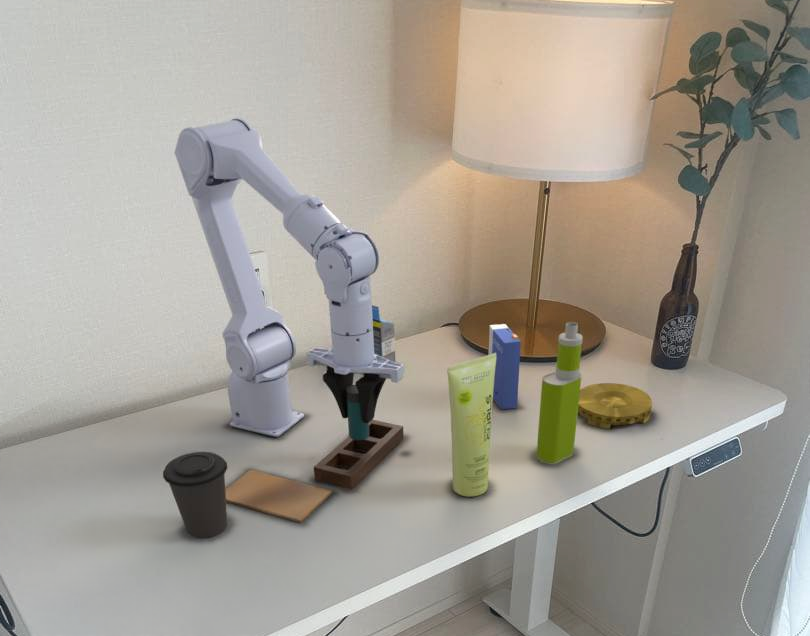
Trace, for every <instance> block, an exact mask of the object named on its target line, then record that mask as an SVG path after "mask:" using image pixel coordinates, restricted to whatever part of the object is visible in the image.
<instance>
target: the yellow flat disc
mask: <svg viewBox="0 0 810 636" xmlns="http://www.w3.org/2000/svg"><path fill="white" fill-rule="evenodd" d="M652 407H653V400H652V397H651V396H650V395H649V394H648V393H647V392H645V391H644V390H642V389H640V388H637V387H635V386H632V385H628V384H623V383H614V382H603V383H602V382H601V383H595V384H590V385H587V386H584V387H583V388H580V395H579V404H578V414H580V415H581V416H582V417H584V418H586V419H587V424H589V425H592V426H594V427H597V428H601V429H602V428H603V429H611V425H613V426H614V425H616V426H617V425H618V426H619V425H620V426H624V425H632V424H636V423H641V424H643V425H644V424H646V423H647V422H648V421H649V419H650V417H651V412H652Z"/></svg>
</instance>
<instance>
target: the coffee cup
mask: <svg viewBox="0 0 810 636" xmlns="http://www.w3.org/2000/svg"><path fill="white" fill-rule="evenodd" d="M227 470H228V462H227V461H226V460H225V459H224V458H223V457H222V456H221V455H219V454H217V453H214V452H209V451H193V452H189V453H184V454H181V455H179V456H177V457H175V458H173V459H172V460H170V461H169V462H168V463H167V464H166V466H165V467H164V469H163V472H162V478H163V479H164V481H165V482H166V483H167V484H168V485H169V487H170V490H171V493H172V495H173V498H174V501H175V503H176V506H177V508H178V511H179V513H180V516H181V519H182V522H183V525H184V527H185V529H186V532H187V534H188V535H189V536H191V537H193V538H196V539H209V538H213V537H216V536H218V535H220V534H222V533H223V532H224V531H225V530H226V529H227V527H228V516H227V515H228V513H227V501H226V493H225V490H226V478H225V477H226V476H225V474H226V472H227Z"/></svg>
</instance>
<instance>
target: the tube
mask: <svg viewBox="0 0 810 636" xmlns="http://www.w3.org/2000/svg"><path fill="white" fill-rule="evenodd" d="M495 366H496V353H493V354H491V355H484V356H482V357H478V358H475V359H471V360H468V361H464V362H461V363H458V364H455V365H451V366H448V367H447V383H448V391H449V406H450V429H451V457H452V458H451V461H452V462H451V465H452V470H451V471H452V490H453V491H454V492H455V493H456V494H458V495H459V496H463V497H478V496H480V495H482V494H484V493H486V491H487V490H488V486H489V468H490V467H489V466H490V448H491V431H492V430H491V429H492V414H493V401H494V399H493V388H494V376H495Z"/></svg>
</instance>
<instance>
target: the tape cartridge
mask: <svg viewBox="0 0 810 636" xmlns="http://www.w3.org/2000/svg"><path fill="white" fill-rule="evenodd" d="M380 317H381V316H380V308H379V306H376V305H373V304H372V318H373V338H374V354H376V355H378V356H381V357H383V358H385V359H388V360H390V361H393V362H395V363H397V360H396V359H397V358H396V335H395V334H396V333H395V323H394V322H391V321H388V320H386V319H385V320H384V319H382V318H380Z"/></svg>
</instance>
